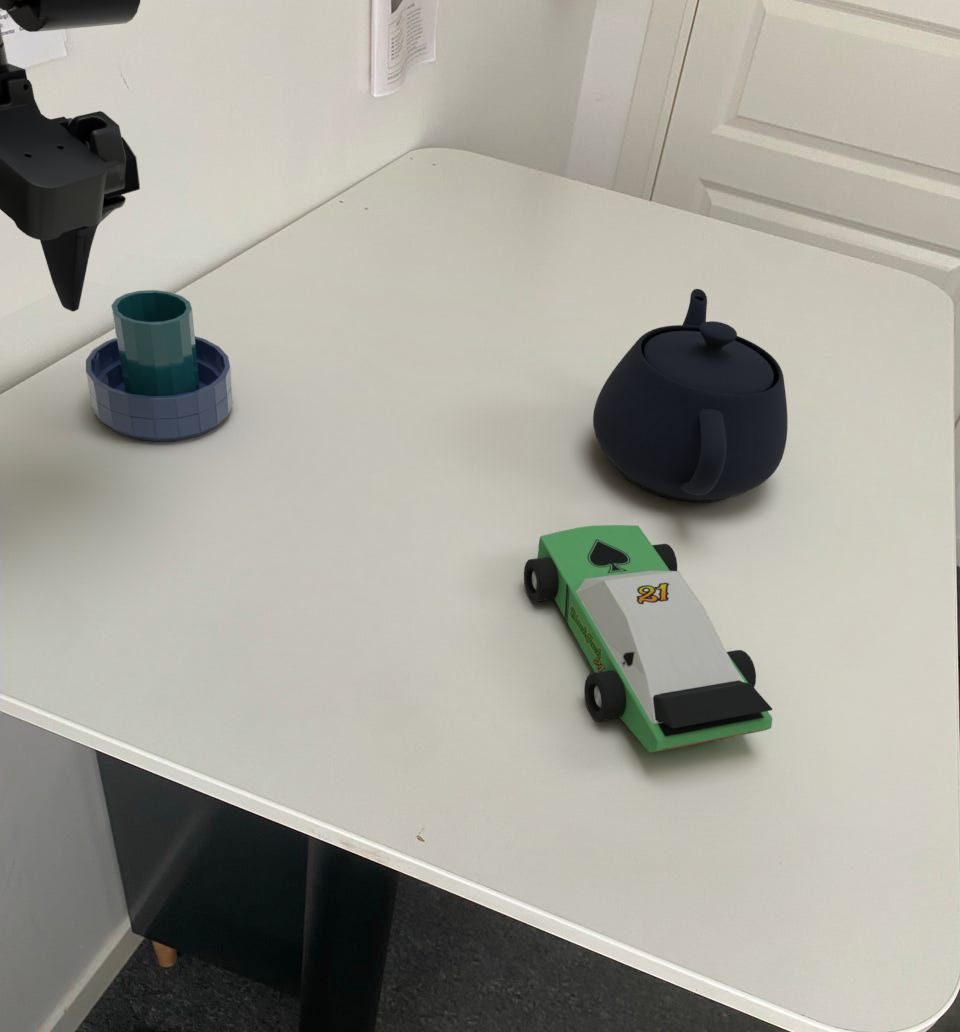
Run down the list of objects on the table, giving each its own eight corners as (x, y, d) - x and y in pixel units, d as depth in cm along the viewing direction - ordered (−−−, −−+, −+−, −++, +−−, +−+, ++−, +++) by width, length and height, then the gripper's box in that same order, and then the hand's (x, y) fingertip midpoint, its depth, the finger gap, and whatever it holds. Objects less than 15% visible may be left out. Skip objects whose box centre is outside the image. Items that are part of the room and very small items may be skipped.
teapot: (786, 566, 70) (850, 423, 62) (581, 533, 70) (617, 385, 62) (751, 401, 88) (796, 273, 80) (588, 375, 88) (617, 244, 80)
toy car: (642, 551, 70) (659, 495, 66) (777, 749, 57) (807, 693, 53) (512, 566, 66) (522, 509, 63) (624, 780, 54) (645, 723, 50)
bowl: (75, 436, 71) (65, 388, 69) (117, 369, 79) (110, 324, 76) (216, 452, 72) (212, 406, 69) (244, 384, 80) (241, 340, 77)
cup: (117, 416, 73) (101, 318, 67) (138, 381, 77) (124, 286, 71) (190, 425, 73) (180, 328, 68) (207, 389, 77) (199, 295, 72)
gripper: (-130, 114, 38) (-33, 442, 49) (196, 53, 51) (216, 326, 62) (-293, 49, 42) (-169, 369, 53) (49, 6, 54) (93, 273, 65)
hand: (10, 332), depth 58 cm, fingers open, 9 cm apart
